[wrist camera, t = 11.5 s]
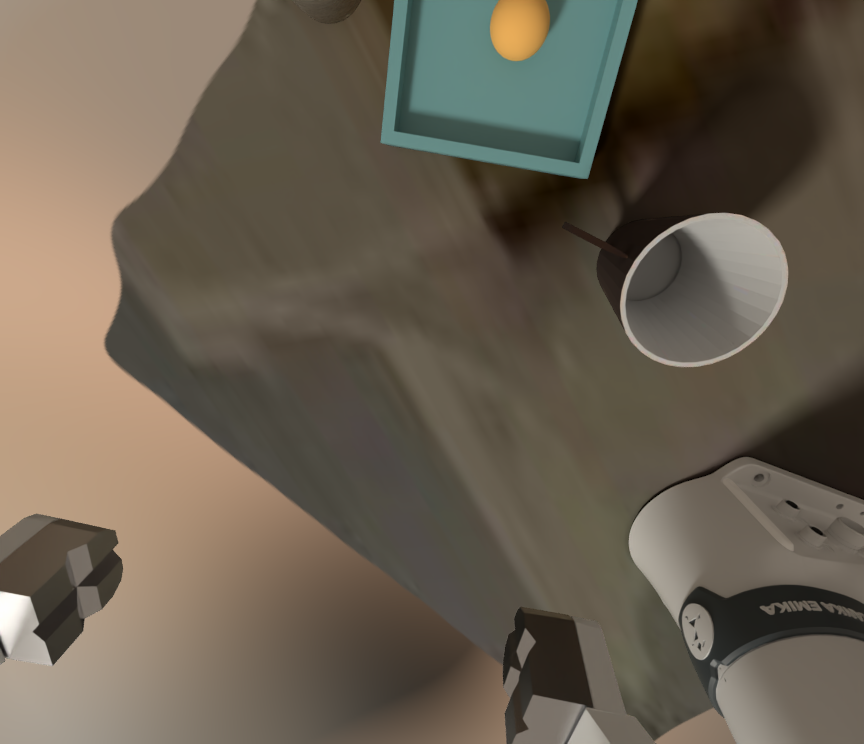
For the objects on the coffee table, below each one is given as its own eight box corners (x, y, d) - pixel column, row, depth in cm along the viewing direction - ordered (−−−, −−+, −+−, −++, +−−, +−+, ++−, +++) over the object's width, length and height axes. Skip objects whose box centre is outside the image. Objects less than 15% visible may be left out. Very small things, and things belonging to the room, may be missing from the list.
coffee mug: (722, 272, 33) (815, 308, 24) (618, 338, 36) (667, 393, 27) (643, 138, 30) (715, 122, 21) (536, 222, 33) (560, 239, 24)
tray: (650, -81, 26) (667, -106, 23) (579, 178, 31) (587, 178, 29) (414, -119, 26) (408, -148, 24) (387, 145, 32) (380, 142, 29)
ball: (536, 15, 28) (567, -17, 25) (526, 76, 29) (555, 53, 25) (485, -2, 27) (511, -38, 24) (477, 62, 28) (500, 35, 24)
